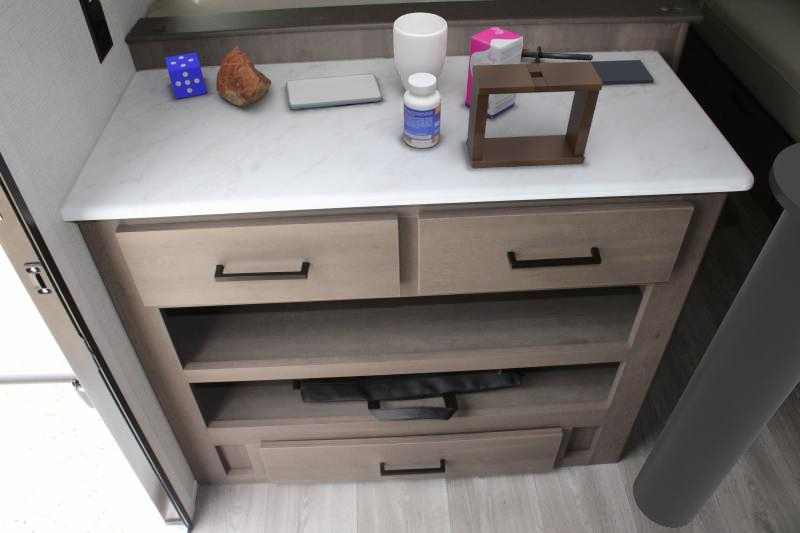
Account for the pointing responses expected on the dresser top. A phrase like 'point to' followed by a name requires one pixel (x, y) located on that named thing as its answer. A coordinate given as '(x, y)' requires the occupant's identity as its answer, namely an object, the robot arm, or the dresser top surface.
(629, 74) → the mat
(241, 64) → the reddish-brown rock
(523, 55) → the T-handle
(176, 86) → the die
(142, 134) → the dresser top surface
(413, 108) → the pill bottle
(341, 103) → the smartphone
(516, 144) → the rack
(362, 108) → the dresser top surface
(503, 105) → the supplement box
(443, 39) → the mug
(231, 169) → the dresser top surface
